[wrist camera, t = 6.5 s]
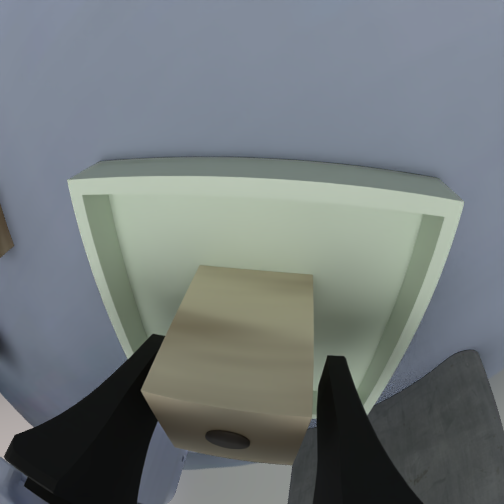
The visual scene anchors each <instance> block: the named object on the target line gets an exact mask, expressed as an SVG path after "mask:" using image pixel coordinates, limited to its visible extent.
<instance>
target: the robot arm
mask: <svg viewBox="0 0 504 504" xmlns="http://www.w3.org/2000/svg"><path fill="white" fill-rule="evenodd" d="M164 338H165V336H163V335H158V334H152V335H151V336H150V337H149V338H148V339H147V340H146V341H145V342H144V343H143V344H142V345H141V346H140V347H139V348H138V349H137V350H136V351H135V352H134V353H133V354H132V355H131V357H130V358H129V359H128V360H127V361H126V362H125V363H124V364H122V365H121V366H120V367H119V368H118V369H117V370H116V371H115V372H114V373H113V374H112V375H111V376H110V377H109V378H108V379H107V380H105V381H104V382H103V383H102V384H101V385H100V386H99V387H98V388H96V389H95V390H94V391H93V392H91V393H90V394H89V395H88V396H86V397H85V398H84V399H82V400H81V401H80V402H78V403H77V404H75V405H74V406H72V407H71V408H69V409H68V410H66V411H65V412H63V413H61V414H60V415H58V416H56V417H54V418H52V419H50V420H49V421H47V422H45V423H43V424H41V425H39V426H37V427H34V428H32V429H29V430H27V431H25V432H22V433H19V434H16V435H15V436H14V438H13V440H12V441H11V444H10V445H9V447H8V449H7V452H6V454H5V456H4V458H5V459H6V461H5V460H4V459H3V458H2V457H0V504H167V503H168V502H170V501H171V500H172V498H173V497H174V495H175V493H176V489H177V486H178V483H179V479H180V476H181V472H182V469H183V466H184V462H185V459H186V456H187V452H193V451H188V450H184V449H180V448H176V447H174V445H173V444H172V442H171V441H170V439H169V438H168V436H167V435H166V433H165V431H164V430H163V428H162V427H161V425H160V423H159V422H158V420H157V418H156V417H155V415H154V413H153V412H152V410H151V408H150V406H149V405H148V403H147V401H146V399H145V397H144V396H143V394H142V392H141V389H142V386H143V384H144V382H145V380H146V377H147V375H148V373H149V371H150V368H151V366H152V364H153V362H154V360H155V357H156V355H157V353H158V351H159V349H160V347H161V344H162V342H163V340H164ZM316 411H317V474H316V482H315V490H314V497H313V504H424V503H423V502H422V501H421V500H420V499H419V498H418V496H417V495H416V494H415V493H414V492H413V490H412V489H411V488H410V487H409V485H408V484H407V483H406V481H405V480H404V478H403V477H402V476H401V474H400V473H399V471H398V470H397V468H396V467H395V466H394V464H393V462H392V461H391V459H390V458H389V456H388V454H387V453H386V451H385V449H384V448H383V446H382V444H381V442H380V440H379V439H378V437H377V435H376V433H375V431H374V429H373V427H372V425H371V423H370V420H369V418H368V416H367V414H366V412H365V409H364V407H363V405H362V402H361V400H360V397H359V395H358V392H357V390H356V387H355V384H354V382H353V379H352V376H351V373H350V370H349V367H348V363H347V360H346V358H345V357H344V356H333V355H327V358H326V362H325V365H324V368H323V372H322V375H321V378H320V381H319V385H318V395H317V409H316ZM193 453H197V452H193ZM7 461H8V462H9V463H8V462H7Z"/></svg>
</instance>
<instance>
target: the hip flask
mask: <svg viewBox="0 0 504 504" xmlns="http://www.w3.org/2000/svg"><path fill="white" fill-rule="evenodd" d="M367 416H368V418H369V420H370V423H371V425H372V427H373V429H374V431H375V433H376V435H377V437H378V439H379V440H380V442H381V444H382V446H383V448H384V449H385V451H386V453H387V454H388V456H389V458H390V459H391V461H392V462H393V464H394V466H395V467H396V468H397V470H398V471H399V473H400V474H401V476H402V477H403V478H404V480H405V481H406V483H407V484H408V485H409V487H410V488H411V489H412V490H413V492H414V493H415V494H416V495H417V496H418V498H419V499H420V500H421V501H422V502H423V503H424V504H504V431H503V427H502V423H501V419H500V416H499V412H498V409H497V406H496V402H495V399H494V396H493V393H492V390H491V387H490V384H489V381H488V378H487V375H486V372H485V370H484V367H483V364H482V362H481V359H480V356H479V354H478V352H476V351H474V350H465V351H462V352H459V353H456V354H454V355H452V356H451V357H449V358H448V359H446V360H445V361H444V362H443V363H441V364H440V365H439V366H438V367H436V368H435V369H434V370H432V371H431V372H430V373H428V374H427V375H426V376H424V377H423V378H421V379H420V380H418V381H417V382H415V383H414V384H412V385H411V386H409V387H408V388H406V389H404V390H403V391H401V392H399V393H398V394H396V395H394V396H392V397H390V398H388V399H386V400H385V401H383V402H381V403H378V404H376V405H374V406H373V408H372V409H371V411H370V412H369V414H368V415H367ZM316 474H317V427H315V428H311V429H307V431H306V434H305V436H304V439H303V441H302V444H301V446H300V448H299V451H298V453H297V456H296V458H295V460H294V462H293V465H292V473H291V482H290V490H289V498H288V504H313V497H314V490H315V482H316Z"/></svg>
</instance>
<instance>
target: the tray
mask: <svg viewBox="0 0 504 504" xmlns="http://www.w3.org/2000/svg"><path fill="white" fill-rule="evenodd" d="M67 181H68V186H69V191H70V195H71V199H72V204H73V208H74V212H75V216H76V219H77V223H78V227H79V230H80V234H81V237H82V241H83V244H84V247H85V251H86V254H87V257H88V260H89V263H90V266H91V269H92V272H93V275H94V278H95V281H96V284H97V287H98V289H99V292H100V295H101V297H102V300H103V303H104V305H105V308H106V310H107V313H108V315H109V318H110V320H111V323H112V325H113V327H114V330H115V332H116V334H117V337H118V339H119V341H120V343H121V346H122V348H123V350H124V352H125V354H126V357H127V359H129V358H130V357H131V355H132V354H133V353H134V352H135V351H136V350H137V349H138V348H139V347H140V346H141V345H142V344H143V343H144V342H145V341H146V340H147V339H148V338H149V337H150V336H151V335H152V334H158V335H163V336H166V334H167V331H168V329H169V327H170V325H171V323H172V321H173V319H174V317H175V315H176V312H177V310H178V308H179V306H180V304H181V302H182V300H183V298H184V296H185V294H186V292H187V290H188V288H189V286H190V284H191V282H192V279H193V277H194V275H195V273H196V271H197V269H198V267H199V265H204V266H215V267H226V268H237V269H249V270H261V271H273V272H285V273H298V274H311V275H313V301H314V370H313V406H312V418H311V419H317V411H316V409H317V395H318V385H319V381H320V378H321V375H322V372H323V368H324V365H325V362H326V358H327V355H333V356H344V357H345V358H346V360H347V363H348V367H349V370H350V373H351V376H352V379H353V382H354V384H355V387H356V390H357V392H358V395H359V397H360V400H361V402H362V405H363V407H364V409H365V412H366V414H367V415H368V414H369V412H370V411H371V409H372V408H373V406H374V404H375V403H376V401H377V400H378V398H379V397H380V395H381V393H382V392H383V390H384V389H385V387H386V385H387V384H388V382H389V380H390V379H391V377H392V375H393V373H394V372H395V370H396V368H397V366H398V365H399V363H400V361H401V359H402V357H403V355H404V354H405V352H406V350H407V348H408V346H409V344H410V342H411V340H412V338H413V336H414V334H415V332H416V330H417V328H418V326H419V324H420V322H421V320H422V318H423V315H424V313H425V311H426V309H427V307H428V304H429V302H430V300H431V297H432V295H433V293H434V290H435V288H436V285H437V283H438V280H439V278H440V275H441V273H442V270H443V267H444V265H445V262H446V259H447V256H448V254H449V251H450V248H451V245H452V242H453V239H454V236H455V233H456V229H457V226H458V223H459V219H460V216H461V212H462V209H463V205H464V201H463V200H462V199H461V198H460V197H459V196H458V195H456V194H455V193H454V192H453V191H452V190H451V189H450V188H449V187H448V186H446V185H445V184H444V183H443V182H442V181H441V180H440V179H438V178H434V177H429V176H423V175H417V174H411V173H405V172H399V171H392V170H385V169H378V168H370V167H362V166H354V165H345V164H336V163H325V162H314V161H301V160H286V159H268V158H241V157H169V158H143V159H125V160H111V161H100V162H98V163H96V164H94V165H92V166H91V167H89V168H87V169H85V170H83V171H82V172H80V173H78V174H76V175H75V176H73V177H71V178H70V179H68V180H67Z"/></svg>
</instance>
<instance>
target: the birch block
mask: <svg viewBox="0 0 504 504" xmlns="http://www.w3.org/2000/svg"><path fill="white" fill-rule="evenodd" d="M313 370H314V301H313V275H311V274H298V273H285V272H273V271H261V270H249V269H237V268H226V267H215V266H204V265H199V267H198V269H197V271H196V273H195V275H194V277H193V279H192V282H191V284H190V286H189V288H188V290H187V292H186V294H185V296H184V298H183V300H182V302H181V304H180V306H179V308H178V310H177V312H176V315H175V317H174V319H173V321H172V323H171V325H170V327H169V329H168V331H167V334H166V336H165V338H164V340H163V342H162V344H161V347H160V349H159V351H158V353H157V355H156V357H155V360H154V362H153V364H152V366H151V368H150V371H149V373H148V375H147V377H146V380H145V382H144V384H143V386H142V389H141V392H142V394H143V396H144V397H145V399H146V401H147V403H148V405H149V406H150V408H151V410H152V412H153V413H154V415H155V417H156V418H157V420H158V422H159V423H160V425H161V427H162V428H163V430H164V431H165V433H166V435H167V436H168V438H169V439H170V441H171V442H172V444H173V445H174V447H176V448H180V449H184V450H188V451H193V452H197V453H202V454H207V455H212V456H218V457H223V458H229V459H236V460H243V461H251V462H259V463H268V464H280V465H293V462H294V460H295V458H296V456H297V453H298V451H299V448H300V446H301V444H302V441H303V439H304V436H305V434H306V431H307V429H308V426H309V424H310V421H311V418H312V406H313Z"/></svg>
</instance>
